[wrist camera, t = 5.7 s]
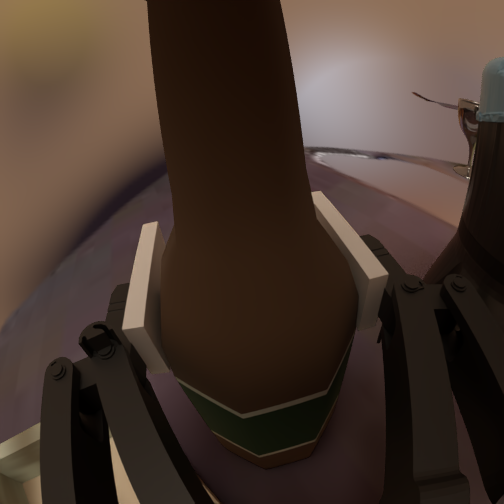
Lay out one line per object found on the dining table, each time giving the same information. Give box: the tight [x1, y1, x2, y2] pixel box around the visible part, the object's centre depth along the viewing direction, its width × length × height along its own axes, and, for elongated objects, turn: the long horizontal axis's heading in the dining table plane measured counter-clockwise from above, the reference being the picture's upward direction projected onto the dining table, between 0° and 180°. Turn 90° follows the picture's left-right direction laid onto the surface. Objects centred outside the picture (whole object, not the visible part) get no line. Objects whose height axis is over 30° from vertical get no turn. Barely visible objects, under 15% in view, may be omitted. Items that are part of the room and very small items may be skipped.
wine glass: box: [453, 98, 480, 179], centre depth 43 cm, size 8×8×15 cm
